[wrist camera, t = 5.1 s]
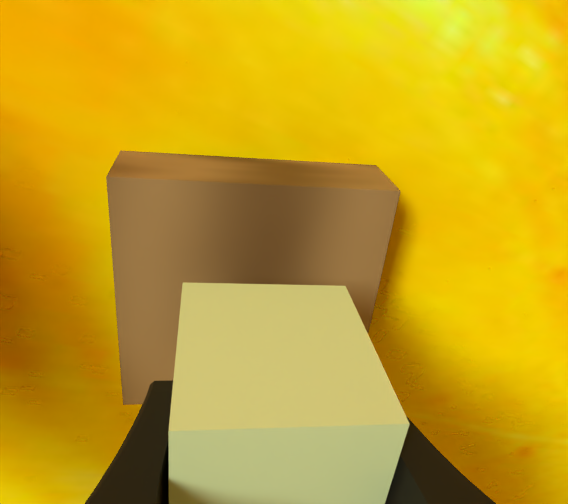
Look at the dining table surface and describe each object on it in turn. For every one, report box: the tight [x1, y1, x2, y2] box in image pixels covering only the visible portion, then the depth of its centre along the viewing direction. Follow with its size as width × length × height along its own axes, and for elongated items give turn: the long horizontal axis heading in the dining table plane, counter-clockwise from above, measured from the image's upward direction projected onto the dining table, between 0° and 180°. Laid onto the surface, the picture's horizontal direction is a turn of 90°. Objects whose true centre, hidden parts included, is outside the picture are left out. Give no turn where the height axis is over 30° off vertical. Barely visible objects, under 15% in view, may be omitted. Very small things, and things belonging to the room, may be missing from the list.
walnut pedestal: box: [107, 151, 400, 405], centre depth 18 cm, size 9×9×3 cm
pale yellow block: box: [168, 283, 410, 504], centre depth 12 cm, size 4×4×5 cm
